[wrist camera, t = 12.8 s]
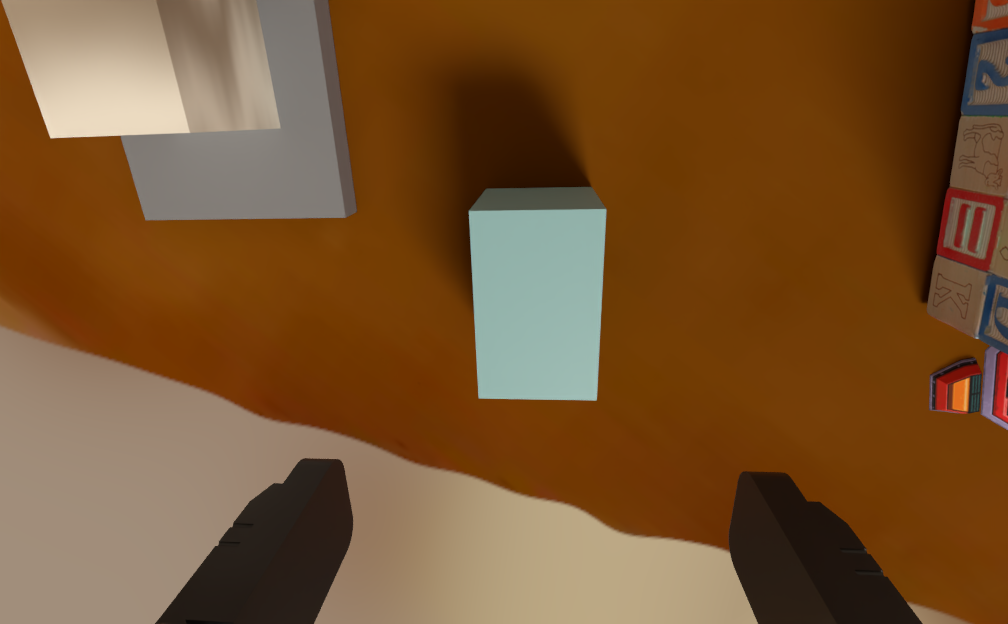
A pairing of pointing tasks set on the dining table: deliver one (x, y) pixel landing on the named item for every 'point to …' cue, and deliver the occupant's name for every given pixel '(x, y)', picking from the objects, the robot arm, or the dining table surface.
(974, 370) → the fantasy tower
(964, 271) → the stack of blocks
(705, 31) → the dining table surface
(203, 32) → the cream brick
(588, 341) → the teal brick
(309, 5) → the baseplate
